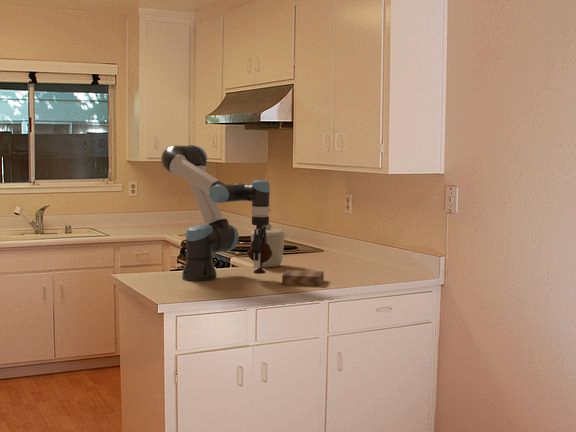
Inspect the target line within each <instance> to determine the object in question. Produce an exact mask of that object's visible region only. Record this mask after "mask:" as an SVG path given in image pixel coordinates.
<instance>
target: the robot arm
mask: <svg viewBox="0 0 576 432" xmlns="http://www.w3.org/2000/svg"><path fill="white" fill-rule="evenodd" d="M160 157H161V159H160V160H161V164H162V166H163V168H164V169H165V170H166V171H168V172H169V173H170V174H172V175H175V176H176V175H178V176H179V177H181V178H183V179H185V180H186V181H187V182H188V184H189V186H190V189H191V191H192V194H193V196H194V198H195V201H196V204H197V207H198V209H199V211H200V214H201V217H202V219H203V221H204V224H197V225H192V226H190V227H188V228H187V229H186V235H185V249H186V250H185V255H186V256H185V259H186V261H185V264H184V268H183V270H182V276H181V278H182V279H183V280H185V279H186V280H185V281H191V280H194V282H195V281H196V282H200V281H201V282H204V281H205V282H206V281H212V280H216V279H217V270H216V268H215V265H214V262H213V254H216V253H221V252H222V253H223V252H224V253H225V252H228V251H232V250H234V249H235V248H236V247H237V245H238V241H239V239H240V238H239V231H238V229H237V228H236V226H234V225H233V224H230V223H229V220H228V219H227V218H226V217H224V216H223V214H222V212H221V209H220V207H219V205H218V203H219V204H222V203H232V202H251V215H252V217H251V225H253V226H256V228H255V229H253V230H254V243H253V251H252V253H254V261H253V269H258V268H260V246H261V240H262V241H263V242H266V243H267V240H266V225H269V224H270V217H269V216H270V211H271V208H270V195H271V194H270V192H271V189H270V185H271V184H270V182H269V181H268V180H264V179H263V180H262V179H256V180H255V179H254V180H253V181H252V183H243V182H239V183H234V184H233V183H232V184H230V183H229V184H226V183H224V182H223V181H221V180H219V179H217V178H216V177H214V176H213V175H211V174H209V173H208V172H206V170H207V164H208V155H207V153H206V151H205V150H204V149H203V148H202V147H201V146H199V145H194V144H189V145H170V146H169V147H166V148H165V149H164V150H163V152H162V154H161V156H160ZM262 264H266V262H264V263H262Z"/></svg>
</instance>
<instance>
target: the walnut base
mask: <svg viewBox="0 0 576 432" xmlns="http://www.w3.org/2000/svg"><path fill="white" fill-rule="evenodd" d="M324 273H325V271H324V270H321V271H319V270H297V269H295V270H293V269H292V270H290V269H288V270H286V271H285V272H284V273H283V274H282V275H281V277H282V278H281V279H282V280H281V285H282V286H284V285H285V286H304V287H305V286H308V287H309V286H310V287H320V286H321V285H322V283H323V282H324V278H325V277H324Z"/></svg>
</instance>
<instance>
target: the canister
mask: <svg viewBox="0 0 576 432" xmlns="http://www.w3.org/2000/svg"><path fill="white" fill-rule="evenodd" d="M286 235H287V232H285V231H284V230H283V229H279V228H272V224H271V223H269V225H266V240H267V244H268V245H269V246H270V248H271V251H272V256H271V258H270V259H269V260H268V261H266V264H262V268H276V267H280V266H281V264H282V262H283V254H284V247H285V238H286ZM249 236H250V240H251V242H252V241H253V240H254V229H253V230H251V232H249ZM251 242H250V243H251Z"/></svg>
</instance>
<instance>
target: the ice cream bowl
mask: <svg viewBox="0 0 576 432" xmlns="http://www.w3.org/2000/svg"><path fill="white" fill-rule="evenodd" d="M253 243H254V240H253V241H252V242H250V248H249V250H247V252H246V253H247V256H248V258H249V259H250V260H251V261H253V262H254V253H252V251H253ZM271 256H272V251H271V248H270V246H269V245H268V244H267V243H266V242H263V241H262V240H261V246H260V268H255V269H254V270H253V274H257V275H259V274H260V275H261V274H262V275H263V274H266V270H264V269H263V267H262V263H264V262H266V261H268V260H269V259H270V258H271Z"/></svg>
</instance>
